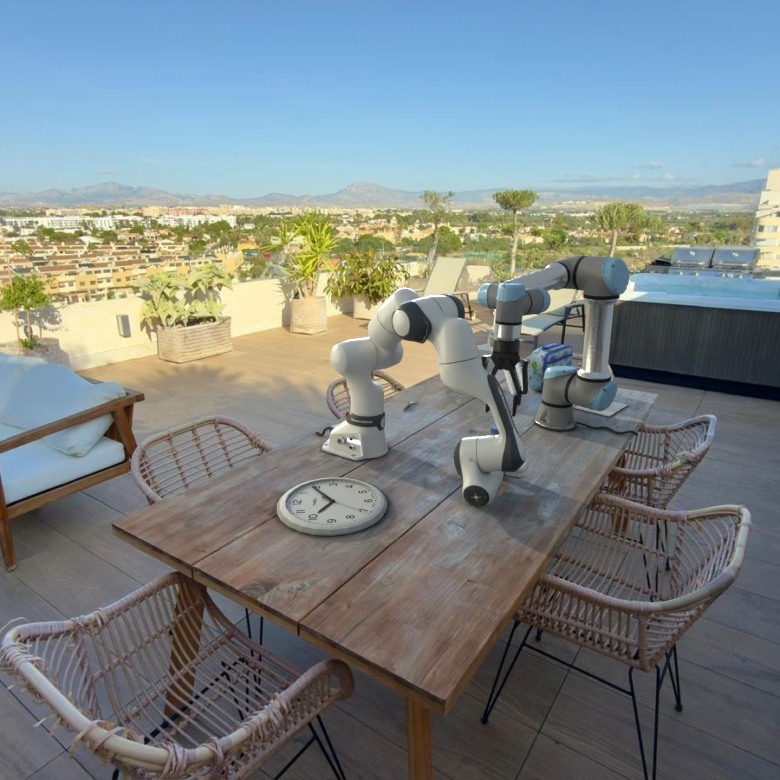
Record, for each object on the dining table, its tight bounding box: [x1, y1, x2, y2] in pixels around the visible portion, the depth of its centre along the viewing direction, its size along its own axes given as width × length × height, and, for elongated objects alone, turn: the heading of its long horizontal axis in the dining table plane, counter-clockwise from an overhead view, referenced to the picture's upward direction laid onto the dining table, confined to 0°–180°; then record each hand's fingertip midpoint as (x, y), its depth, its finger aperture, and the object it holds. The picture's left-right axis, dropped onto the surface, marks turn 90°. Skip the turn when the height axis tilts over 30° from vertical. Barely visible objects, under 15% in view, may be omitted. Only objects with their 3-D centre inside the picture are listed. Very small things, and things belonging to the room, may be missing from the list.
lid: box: [490, 423, 499, 435], centre depth 159 cm, size 5×5×2 cm
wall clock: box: [276, 476, 388, 537], centre depth 142 cm, size 30×2×30 cm
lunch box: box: [528, 343, 574, 392], centre depth 249 cm, size 26×11×21 cm, turn 134°
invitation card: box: [573, 400, 629, 418], centre depth 226 cm, size 21×1×15 cm
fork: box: [403, 395, 419, 411], centre depth 222 cm, size 3×16×2 cm, turn 160°
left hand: (497, 453), depth 162 cm, fingers closed on jar, 5 cm apart
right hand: (500, 413), depth 157 cm, fingers open, 7 cm apart
